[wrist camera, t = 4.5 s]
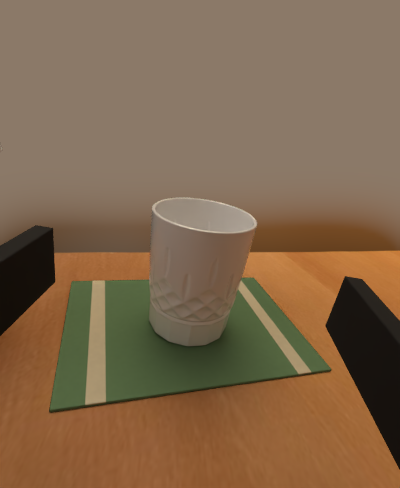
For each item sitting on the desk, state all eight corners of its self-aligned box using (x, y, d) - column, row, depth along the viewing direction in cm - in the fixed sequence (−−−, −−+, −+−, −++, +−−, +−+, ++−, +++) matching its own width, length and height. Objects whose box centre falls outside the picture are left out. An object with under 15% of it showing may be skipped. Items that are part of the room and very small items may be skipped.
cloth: (252, 280, 36) (253, 277, 35) (330, 373, 23) (331, 369, 23) (71, 284, 29) (71, 280, 29) (49, 414, 17) (49, 409, 17)
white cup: (193, 287, 31) (208, 195, 27) (249, 331, 26) (278, 225, 22) (125, 309, 26) (132, 200, 22) (178, 368, 21) (199, 240, 17)
